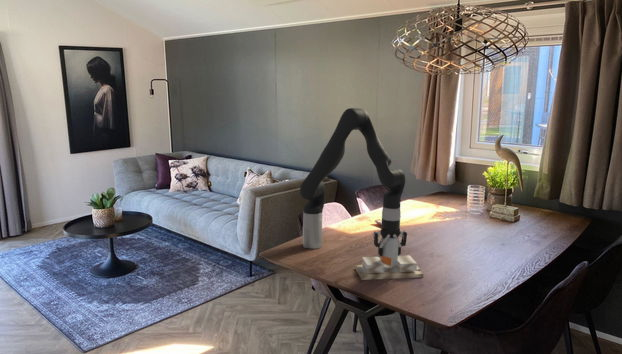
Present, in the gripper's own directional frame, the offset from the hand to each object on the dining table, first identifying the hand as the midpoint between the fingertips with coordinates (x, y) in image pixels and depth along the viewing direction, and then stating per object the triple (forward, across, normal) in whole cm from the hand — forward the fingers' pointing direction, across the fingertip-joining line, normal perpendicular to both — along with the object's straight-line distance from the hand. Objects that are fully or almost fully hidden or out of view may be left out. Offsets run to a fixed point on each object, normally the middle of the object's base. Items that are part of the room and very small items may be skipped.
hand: (389, 255), depth 196 cm
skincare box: (+4, 0, 0) cm, 4 cm away
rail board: (+8, 0, 0) cm, 8 cm away
